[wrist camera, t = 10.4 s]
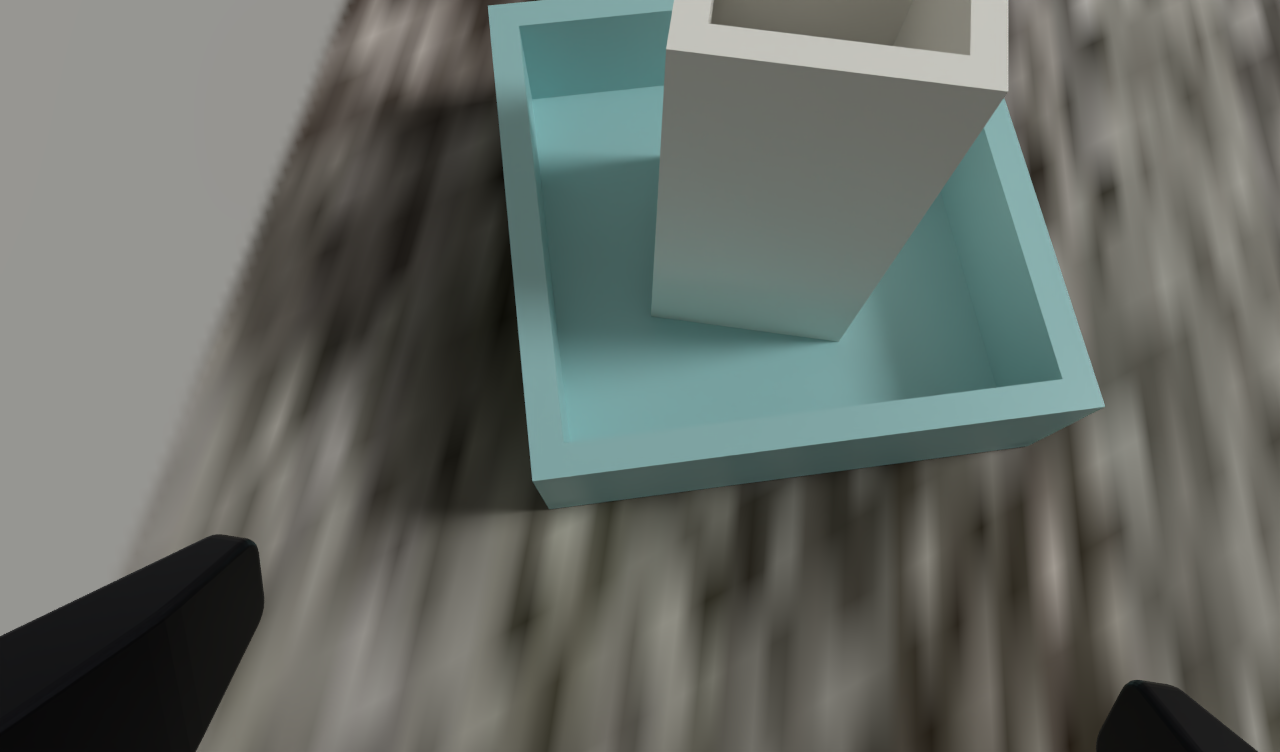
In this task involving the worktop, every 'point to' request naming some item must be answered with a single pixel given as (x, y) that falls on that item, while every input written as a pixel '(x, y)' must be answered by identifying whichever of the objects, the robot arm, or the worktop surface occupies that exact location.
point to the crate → (740, 358)
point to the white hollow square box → (810, 149)
